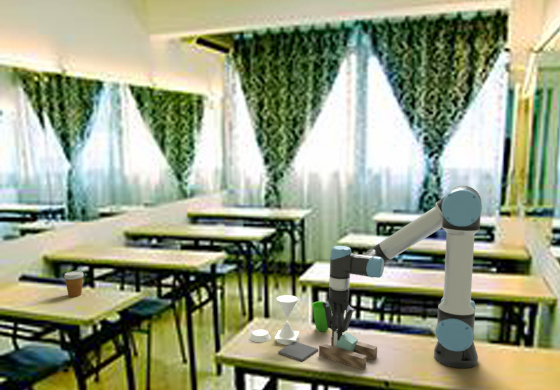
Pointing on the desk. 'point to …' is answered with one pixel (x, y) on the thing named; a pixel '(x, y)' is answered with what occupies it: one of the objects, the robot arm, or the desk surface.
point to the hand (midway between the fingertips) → (336, 347)
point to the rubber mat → (298, 351)
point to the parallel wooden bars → (349, 354)
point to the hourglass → (286, 333)
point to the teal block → (347, 342)
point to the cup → (320, 316)
